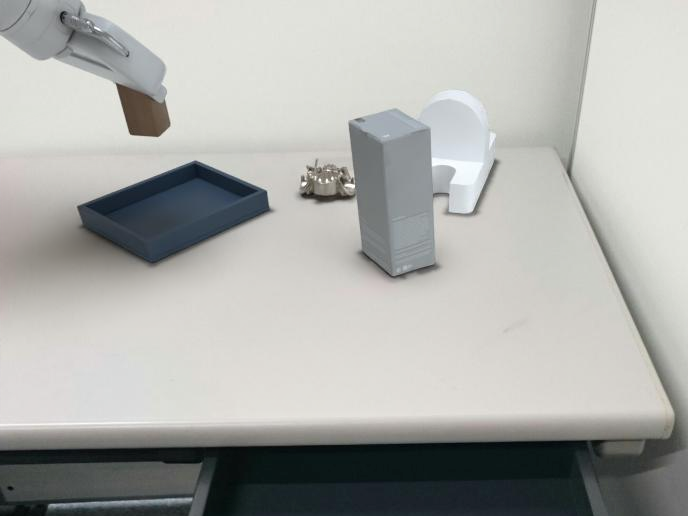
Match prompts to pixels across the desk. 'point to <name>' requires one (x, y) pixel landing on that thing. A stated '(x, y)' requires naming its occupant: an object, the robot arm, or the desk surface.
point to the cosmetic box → (394, 190)
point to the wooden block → (143, 113)
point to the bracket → (459, 147)
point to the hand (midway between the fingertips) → (145, 89)
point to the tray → (173, 210)
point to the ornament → (327, 181)
